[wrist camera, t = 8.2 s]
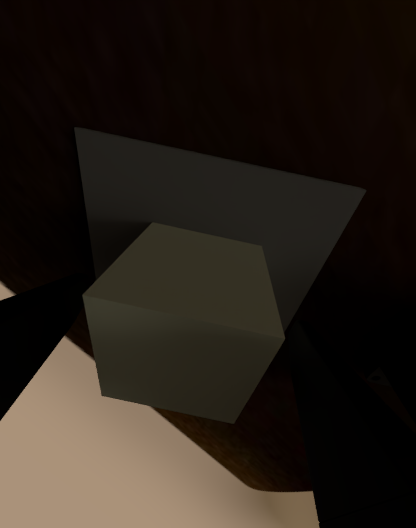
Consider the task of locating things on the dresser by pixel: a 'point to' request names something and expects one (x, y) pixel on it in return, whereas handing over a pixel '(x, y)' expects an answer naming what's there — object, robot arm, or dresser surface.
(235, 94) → the dresser surface
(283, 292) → the mat
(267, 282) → the cube
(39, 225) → the dresser surface
